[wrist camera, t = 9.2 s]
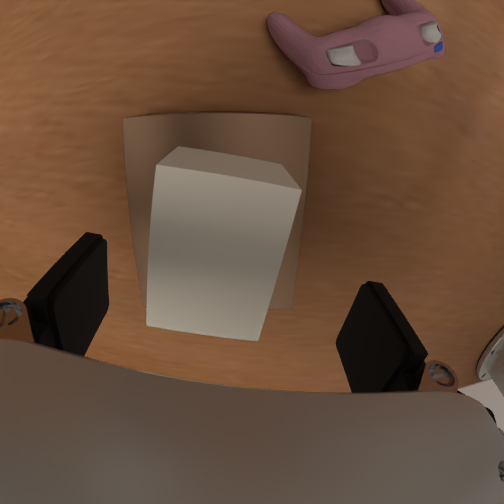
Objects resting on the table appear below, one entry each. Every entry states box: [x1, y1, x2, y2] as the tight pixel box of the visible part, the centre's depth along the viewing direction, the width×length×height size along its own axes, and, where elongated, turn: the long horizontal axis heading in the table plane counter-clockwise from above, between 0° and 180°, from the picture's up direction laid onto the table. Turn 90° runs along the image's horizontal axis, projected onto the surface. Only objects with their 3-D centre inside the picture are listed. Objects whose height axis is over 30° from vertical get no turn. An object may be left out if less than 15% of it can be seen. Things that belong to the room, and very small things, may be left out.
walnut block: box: [123, 111, 312, 309], centre depth 18 cm, size 9×11×5 cm
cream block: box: [147, 146, 302, 341], centre depth 13 cm, size 5×7×4 cm
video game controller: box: [267, 0, 446, 89], centre depth 13 cm, size 10×5×7 cm, turn 117°
